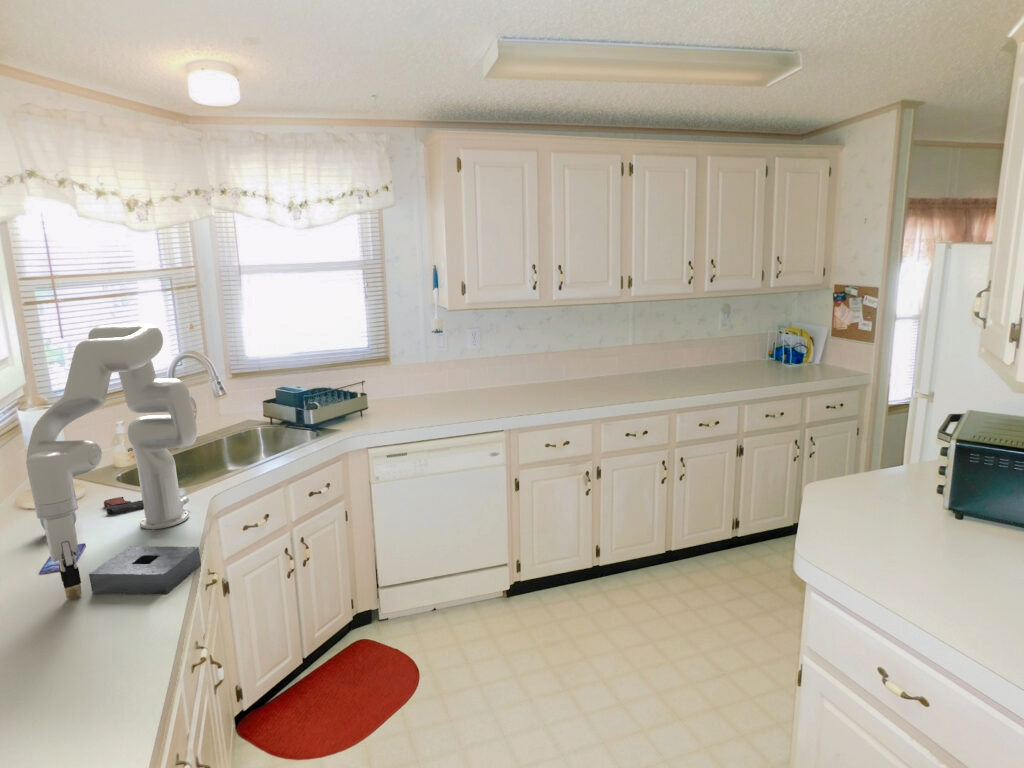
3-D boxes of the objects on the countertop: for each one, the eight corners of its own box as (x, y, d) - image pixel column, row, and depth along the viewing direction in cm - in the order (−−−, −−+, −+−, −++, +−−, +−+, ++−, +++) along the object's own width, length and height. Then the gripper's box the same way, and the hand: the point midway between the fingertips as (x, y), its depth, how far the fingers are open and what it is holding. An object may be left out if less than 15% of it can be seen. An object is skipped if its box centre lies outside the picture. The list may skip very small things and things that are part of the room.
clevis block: (132, 564, 161) (129, 546, 160) (201, 565, 159) (198, 546, 158) (92, 593, 147) (88, 573, 146) (166, 594, 145) (163, 574, 144)
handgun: (159, 489, 211) (165, 498, 201) (160, 496, 211) (166, 506, 201) (103, 499, 201) (106, 509, 192) (104, 507, 202) (107, 517, 192)
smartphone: (37, 573, 157) (54, 548, 171) (38, 576, 157) (55, 552, 171) (72, 566, 160) (86, 542, 173) (73, 569, 160) (87, 545, 174)
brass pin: (72, 591, 147) (65, 551, 145) (85, 591, 147) (77, 551, 145) (62, 598, 144) (54, 557, 142) (75, 598, 144) (67, 557, 142)
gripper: (32, 500, 145) (47, 575, 149) (39, 522, 132) (55, 603, 136) (72, 491, 149) (86, 564, 153) (82, 512, 137) (96, 590, 141)
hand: (71, 581), depth 145 cm, fingers closed on brass pin, 3 cm apart
